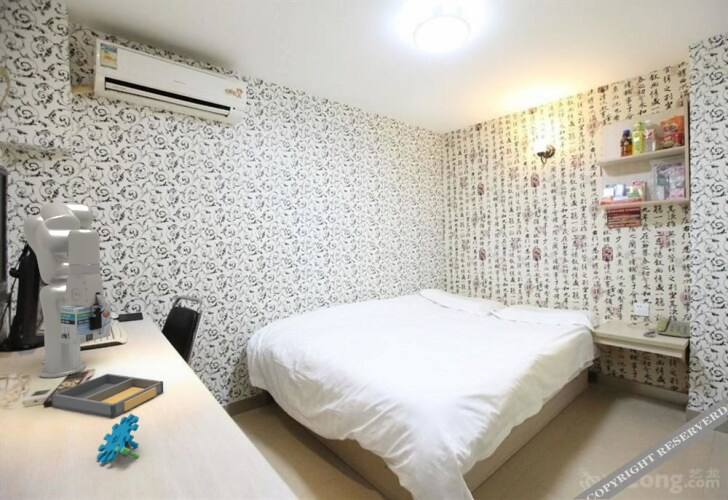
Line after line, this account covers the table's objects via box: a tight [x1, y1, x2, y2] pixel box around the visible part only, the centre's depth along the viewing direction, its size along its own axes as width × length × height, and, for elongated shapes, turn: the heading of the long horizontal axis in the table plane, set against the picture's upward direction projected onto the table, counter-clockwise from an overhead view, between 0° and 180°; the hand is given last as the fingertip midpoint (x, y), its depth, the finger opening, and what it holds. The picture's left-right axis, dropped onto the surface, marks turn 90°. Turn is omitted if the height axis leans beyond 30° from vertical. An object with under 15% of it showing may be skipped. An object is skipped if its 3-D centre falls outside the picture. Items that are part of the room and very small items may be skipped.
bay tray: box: [51, 373, 164, 419], centre depth 102 cm, size 23×16×4 cm
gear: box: [96, 413, 140, 465], centre depth 77 cm, size 11×6×10 cm
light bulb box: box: [61, 301, 112, 345], centre depth 106 cm, size 11×7×11 cm, turn 166°
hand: (86, 328), depth 106 cm, fingers closed on light bulb box, 6 cm apart
